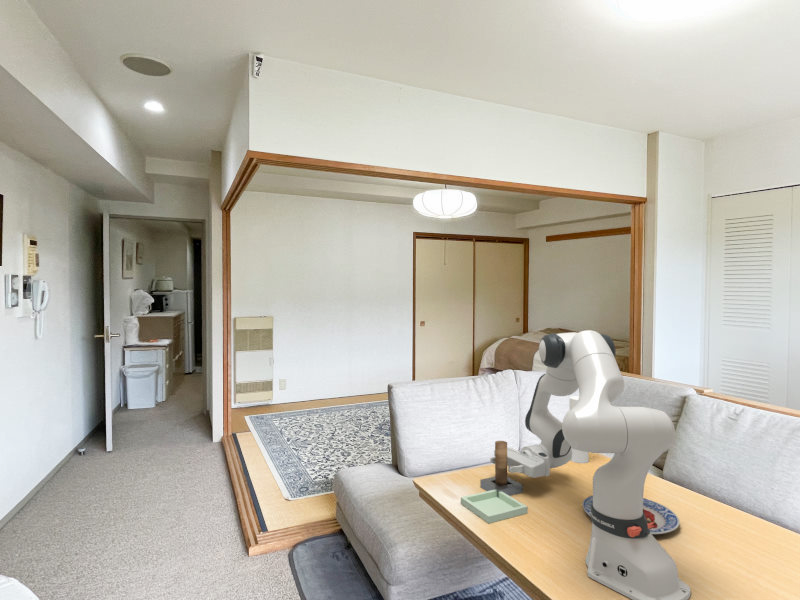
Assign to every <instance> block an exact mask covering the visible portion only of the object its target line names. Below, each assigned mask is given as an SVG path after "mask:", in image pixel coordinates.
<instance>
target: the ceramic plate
mask: <svg viewBox="0 0 800 600" xmlns="http://www.w3.org/2000/svg"><path fill="white" fill-rule="evenodd" d="M592 503H593V494H592V495H590V496H588V497H587V498H585V499H584V500H583V501H582V508H583V511H584V513H586V514H587V515H588V516H589V517H590V518H591V504H592ZM643 512H644V514H645V517H646V519H647V522H648V523H651V522H654V524H653V525H651V526H654V527H652V528H650V533H651V534H652V535H663V534H667V533H671V532H673V531H676V530H677V529H678V528H679V526H680V519H679V517H678V515H677V514H676V513H675V512H674V511H673V510H671V509H669V508H668V507H667V506H665V505H663V504H661V503H658V502H656V501H653V500H650V499H647V498H644V497H643Z"/></svg>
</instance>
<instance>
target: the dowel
mask: <svg viewBox="0 0 800 600" xmlns="http://www.w3.org/2000/svg"><path fill="white" fill-rule="evenodd" d="M507 448H508V442H507V441H505V440H496V441H495V442H494V451H495V464H494V471H495V472H494V473H495V474H494V475H495V476H494V477H495V484H497V485H498V486H504V485H507V477H508V466H507Z"/></svg>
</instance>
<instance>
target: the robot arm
mask: <svg viewBox="0 0 800 600" xmlns="http://www.w3.org/2000/svg"><path fill="white" fill-rule="evenodd" d="M616 354H617V353H616V345H615V342H614V341H613V339H612V338H611V336H610V335H608V334H604V333H599V332H598V331H596V330H591V329H588V330H581V331H579V332H574V331H573V332H571V331H570V332H562V333H561V332H559V333H556V332H553V333H549V334H545V335H543V336H542V337H541V339H540V341H539V346H538V355H539V357H540V361H541V363H542V364H543V365H544V366H545V367H546V371H545V373H543V374H542V375H540V377H539V378H538V380H537V382H536V386H535V389H534V393H533V397H532V399H531V402H530V403H531V404H530V407H529V409H528V411H527V413H526V415H525V417H524V424H525V428H526V429H527V430H528V431H529V432H531V433H532V434H533V435H534V436H536V437H537V439H539V440H540V441H541V442H540V444H532V445H531V444H530V445H526V446H523V447H522V448H521V450H520V451H519V450H517V449H515V448H512V447H507V472H509V473H511V474H513V473H517V474H518V473H519V474H523V475H525V476H527V477H529V478H540V477H541V478H542V477H549V476H550V474H551V471H550V470H551V469H554V468H559V467H563V466H564V465H566V464H568V463H569V462H571V458H572V449H571V447H572V448H573V449H576V450H580V451H585V452H589V453H591V454H614V455H613V456H612V458H611V459H610V460H609V461H608V462H606V463H605V464H602V465H601V466H599V467H598V468H597V469H596V470H595V472H594V473H593V476H592V495H593V503H592V504H591V517H590V522H591V532H590V533H591V534H590V541H589V546H588V549H587V550H588V551H587V552H586V553H587V554H586V557H585V560H584V561H585V563H586V566H587V570H586V571H587V572H586V575H587V577H588V578H590V579H592V580H594V581H596V582H597V583H599V584H602V585H603V586H606V587H607V588H609V589H611V590H613V591H615V592H617V593H619V594H621V595H623V596H624V597H627V598H628V599H631V600H689V599H690V597H691V593H692V592H691V587H690V586H689V585H688V584H687V583H686V582H684V581H682V580H681V579H680V578H679V571H678V567H677V564H676V562H675V560H674V558H672V556H671V555H670V554H669V553H668V552H667V551H666V549H665V548H664V547H663V546H662V545H661V543H660V542H659V541H658V540H657V539H656V537H655V536H654V534H651V533H650V528H652V527H654V526H651V525H653V524H654V522H651V523H648V522H647V519H646V517H645V514H644V512H643V498H644V493H645V484H646V479H647V476H648V473H649V472H650V470H651V467H652V466H653V464H654V463H655V462H656V460H657V459H658V458H659V457H660V456H661V455H662V454H664V453H666V452H667V451H668V450H670V449H671V448H672V446H673V445H674V442H675V439H676V428H675V424H674V423H673V420H672V419H671V417H670V416H669V414H667V413H666V412H665V411H663V410H660V409H656V408H653V407H652V408H651V407H647V406H616V405H612V404H611V403H612V402H613V401H615V400H616V399H617V398H619V397H620V396H621V394H622V393H623V391H624V389H625V379H624V377H623V375H622V373H621V370H620V367H619V365H618V363H617V360H616ZM577 391H578V392H579V394H578V396H579V399H578V402H577V403H576V405H575V406H574V407H573V408H572V409H570V408H569V410H568V411H567V412H566V413H565V414H564V417H563V420H562V421H561V420H559V419H558V418H557V417H556V416H554V415H553V414H552V413H551V412H550V409H549V408H548V405H549V402H550V398H551V395H552V396H555V397H567V396H570V395H573V394H574V393H576V392H577ZM493 451H494V452H493V456H491V457H490V460H489V461H490V463H491V464H493V465H495V450H493Z"/></svg>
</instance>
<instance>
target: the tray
mask: <svg viewBox="0 0 800 600" xmlns="http://www.w3.org/2000/svg"><path fill="white" fill-rule="evenodd" d="M497 493H499V495H498V496H499V497H498V496H497ZM460 505H461V506H463V507H464V508H466V509H468V510H469V511H470V512H471V513H473V514H475V515H476V516H477V517H478V518H480V519H481V520H483V521H484V522H485V523H487V524H493V523H496V522H501V521H504V520H508V519H511V518H515V517H519V516H523V515H526V514H528V511H529V510H528V509H529V508H528V506H527V505H525V504H524V503H522V502H520V501H519V500H517V499H516V498H514V497H512V496H509V495H507V494H505V493H504V492H502V491H501V492H497V491H496V490H490V491H486V490H485V491H482V492H478V493H473V494H469V495H465V496H461V497H460Z"/></svg>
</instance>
